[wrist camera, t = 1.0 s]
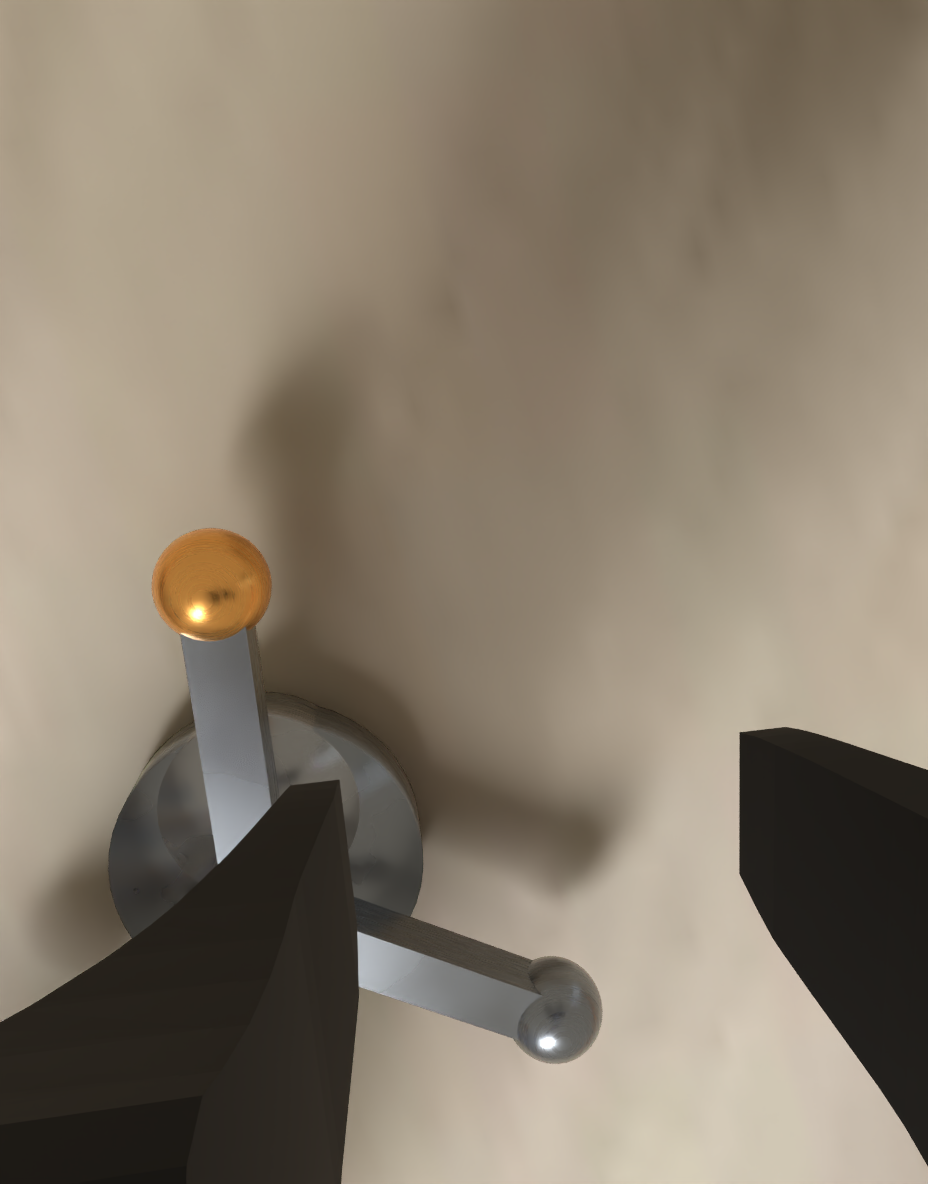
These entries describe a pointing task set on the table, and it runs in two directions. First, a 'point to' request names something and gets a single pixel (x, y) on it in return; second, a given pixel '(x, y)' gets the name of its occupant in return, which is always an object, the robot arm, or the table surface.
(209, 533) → the cam capstan
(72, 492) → the table surface
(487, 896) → the table surface
